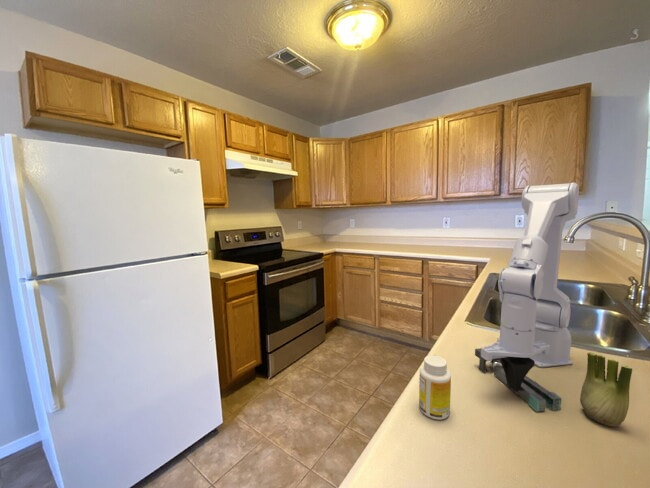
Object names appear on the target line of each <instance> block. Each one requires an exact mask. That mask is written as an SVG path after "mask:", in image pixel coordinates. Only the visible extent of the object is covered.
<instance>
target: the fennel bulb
mask: <svg viewBox="0 0 650 488" xmlns="http://www.w3.org/2000/svg"><path fill="white" fill-rule="evenodd" d="M586 366H587V367H586V374H585V378H584V381H583V383H582V387H581V391H580V398H579V399H580V406H581V407H582V409H583V411H584V413H585V414H586V415H587V416H588V417H590V418H591V419H592V420H594V421H596V422H598V423H599V424H601V425H604V426H608V427H614V428H615V427H619V426H620V425H621V424H622V423H623V422H624V421H625V419H626V417H627V415H628V411H629V407H630V384H631V379H632V374H633V368H632V367H630V366H629V365H626V364H623V365H622V364H621V367H620V371H619V361H618V360H617V359H612V358H608V359H607V364H606V356H605V355H601V354H597V353H594V352H590V351H589V352H587V365H586ZM618 372H619V373H618Z"/></svg>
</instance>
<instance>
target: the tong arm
mask: <svg viewBox="0 0 650 488" xmlns="http://www.w3.org/2000/svg"><path fill="white" fill-rule="evenodd" d="M493 376H495V377H496V378H497V379H498V380H499V381H501V382H502V383H503V384H504V385H505V386H507V380H506V376H505V372H504V369H503V367H501V366H500V365H498V366H494V372H493ZM508 388H509V389H511V388H510V387H508ZM512 391H513V392H514V393H516V395H518V396H519V397H520V398H521V399H523V400H524V401H525V402H526V403H528V406H529V407H531V408H532V409H533V410H534V411H535V412H546V409H547V407H546V400H545V399H544V398H543V397H541V396H540V395H539V394H537V393H536V392H535V391H533V390H532V389H531V388H529V387H528V386H527V385H525V384H524V383H523V382H522V384H521V386H520V389H519V391H518V392H515V391H514V390H512Z"/></svg>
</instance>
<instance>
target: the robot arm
mask: <svg viewBox="0 0 650 488" xmlns="http://www.w3.org/2000/svg"><path fill="white" fill-rule="evenodd" d="M579 199H580V187H579V184H578V183H576V182H571V183H556V184H542V185H541V184H539V185H526V186H525V188H523V190H522V194H521V207H522V209H523V211H524V214H525V215H526V217H527V218H526V224H525V229H524V233H523V236H522V237H519V238H518V239H516V240H515V243H514V246H513V249H512V252H511V254H510V258H509V262H508V263H507V266H506V268H502V269H501V270H500V271H499V275H498V281H497V282H498V283H497V287H498V292H499V302H500V303H501V311H500V312H501V315H500V327H499V329H500V330H499V331H500V332H499V338H496V340H497V341H496V342H495V343H492V344H490V345H488V346H484V347H480V348H481V357H482V358H484V359H485V360H487V362H490V361H492V359H496V358H499V360H500V362H501V364H502V367H503V369H504V372H505V376H506V380H507V385H506V387H508V388H509V387H510V388H509V389H510V390H512V391H513V390H514V391H515V392H518V391H519V389H520V386H521V384H522V382H523V380H524V378H525V376H527V374H528V373H529V372H530V371H531V369H533V368H534V367H535V366H537V367H538V368H548V367H555V366H556V367H557V366H567V365H573V364H574V362H573V361H572V360H570V359H571V358H570V357H571V349H572V336H571V333H570V330H569V329H568V327H569V325H570V318H571V299H570V298H569V296H568V295H567V294H565V293H564V292H563V291H562V290H560V289H559V288H558V280H559V279H558V278H559V271H560V259H561V250H562V240H563V231H564V228H565V225H566V224H567V223H568V222H569V221H573V220H575V219H576V215H578V209H579V208H578V206H579ZM514 391H513V392H514ZM515 392H514V393H515Z"/></svg>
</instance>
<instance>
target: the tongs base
mask: <svg viewBox="0 0 650 488" xmlns="http://www.w3.org/2000/svg"><path fill="white" fill-rule="evenodd" d="M498 365H500V366H501V367H502V364H501V362H500V360H496V361H489V371H491V372H492V373H494V366H498ZM523 383H524V384H525V385H527V386H528V387H529V388H531V389H532V390H533V391H535V392H536V393H537V394H539V395H540V396H541V397H543V398H544V399H545V400H546V408H548V409H549V410H551V412H555V411H561V409H562V408H561V407H562V397H560V395H557V394H556V393H555V392H553V391H550V390H548V389H547V388H545V387H544V386H542V385H541V384H539V383H538V382H536V381H535V380H533V379H532V378H530V377H529V376H528V375H526V376H525V378H524V380H523Z"/></svg>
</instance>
